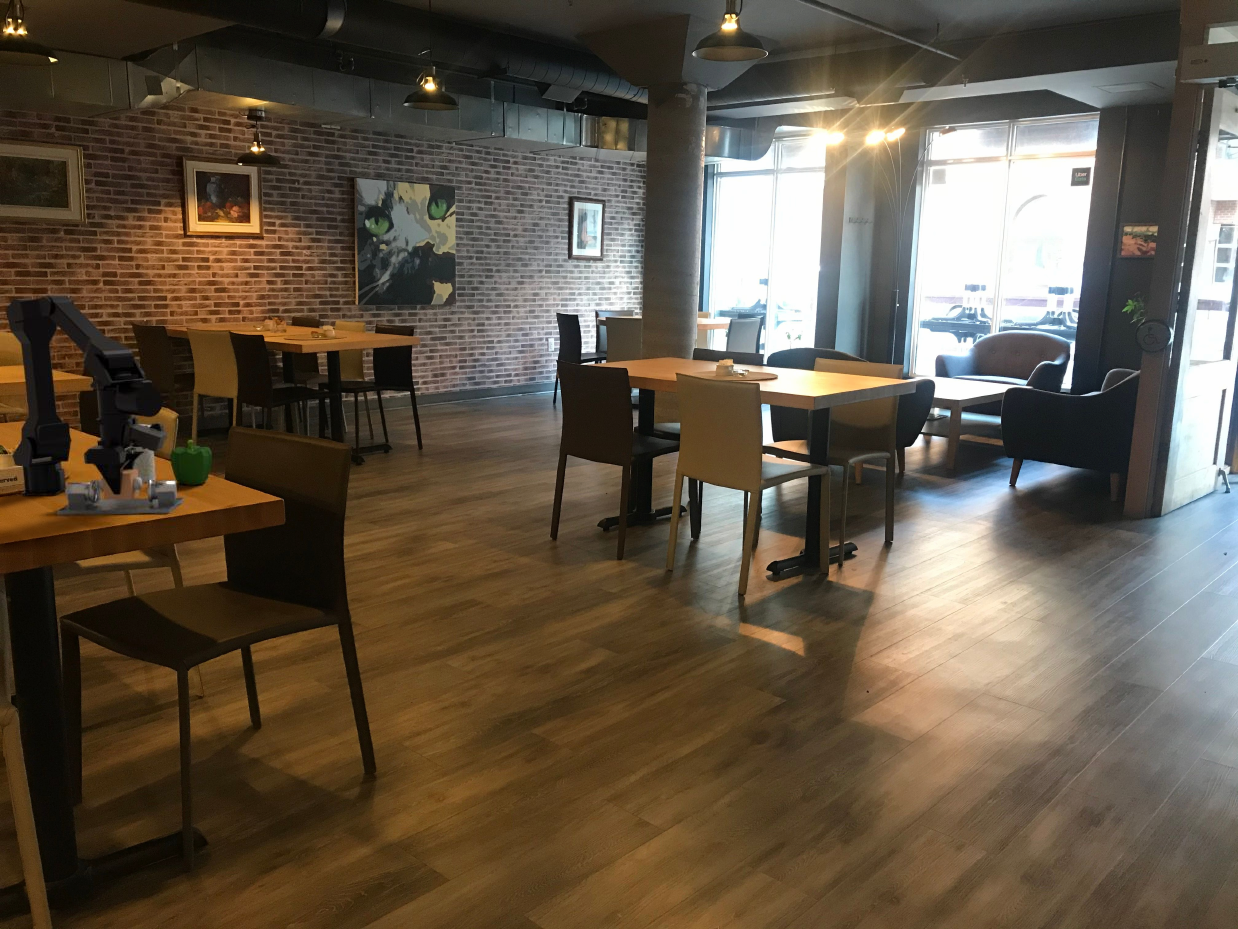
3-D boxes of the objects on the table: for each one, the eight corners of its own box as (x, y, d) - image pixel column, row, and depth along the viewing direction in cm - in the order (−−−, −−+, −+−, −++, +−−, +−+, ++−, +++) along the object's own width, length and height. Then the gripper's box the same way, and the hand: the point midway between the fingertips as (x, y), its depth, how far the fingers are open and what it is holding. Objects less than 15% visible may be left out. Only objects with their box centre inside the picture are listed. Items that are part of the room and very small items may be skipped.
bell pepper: (179, 479, 217) (176, 435, 215) (217, 479, 218) (215, 435, 216) (165, 487, 209) (162, 441, 207) (205, 487, 210) (202, 442, 208)
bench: (57, 514, 184) (55, 485, 183) (77, 502, 193) (75, 474, 192) (169, 513, 187) (167, 484, 186) (183, 501, 197) (182, 474, 196)
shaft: (148, 506, 189) (146, 481, 188) (150, 501, 193) (148, 477, 192) (176, 504, 191) (174, 480, 190) (177, 499, 195) (176, 475, 194)
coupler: (144, 494, 193) (142, 469, 192) (137, 499, 188) (135, 474, 187) (107, 494, 191) (105, 469, 191) (98, 499, 187) (96, 474, 186)
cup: (139, 485, 211) (135, 430, 208) (106, 482, 212) (102, 428, 210) (163, 477, 219) (159, 425, 216) (131, 475, 220) (127, 423, 218)
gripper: (144, 419, 179) (150, 502, 182) (173, 406, 197) (178, 481, 200) (79, 419, 177) (86, 502, 180) (115, 406, 195) (120, 481, 198)
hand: (121, 491), depth 190 cm, fingers closed on coupler, 4 cm apart
